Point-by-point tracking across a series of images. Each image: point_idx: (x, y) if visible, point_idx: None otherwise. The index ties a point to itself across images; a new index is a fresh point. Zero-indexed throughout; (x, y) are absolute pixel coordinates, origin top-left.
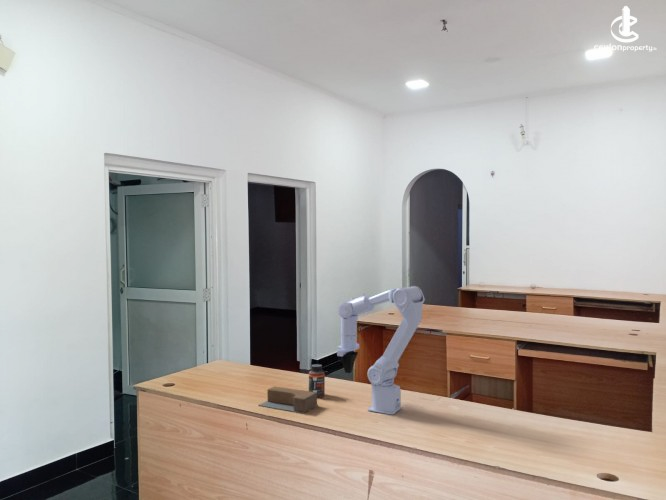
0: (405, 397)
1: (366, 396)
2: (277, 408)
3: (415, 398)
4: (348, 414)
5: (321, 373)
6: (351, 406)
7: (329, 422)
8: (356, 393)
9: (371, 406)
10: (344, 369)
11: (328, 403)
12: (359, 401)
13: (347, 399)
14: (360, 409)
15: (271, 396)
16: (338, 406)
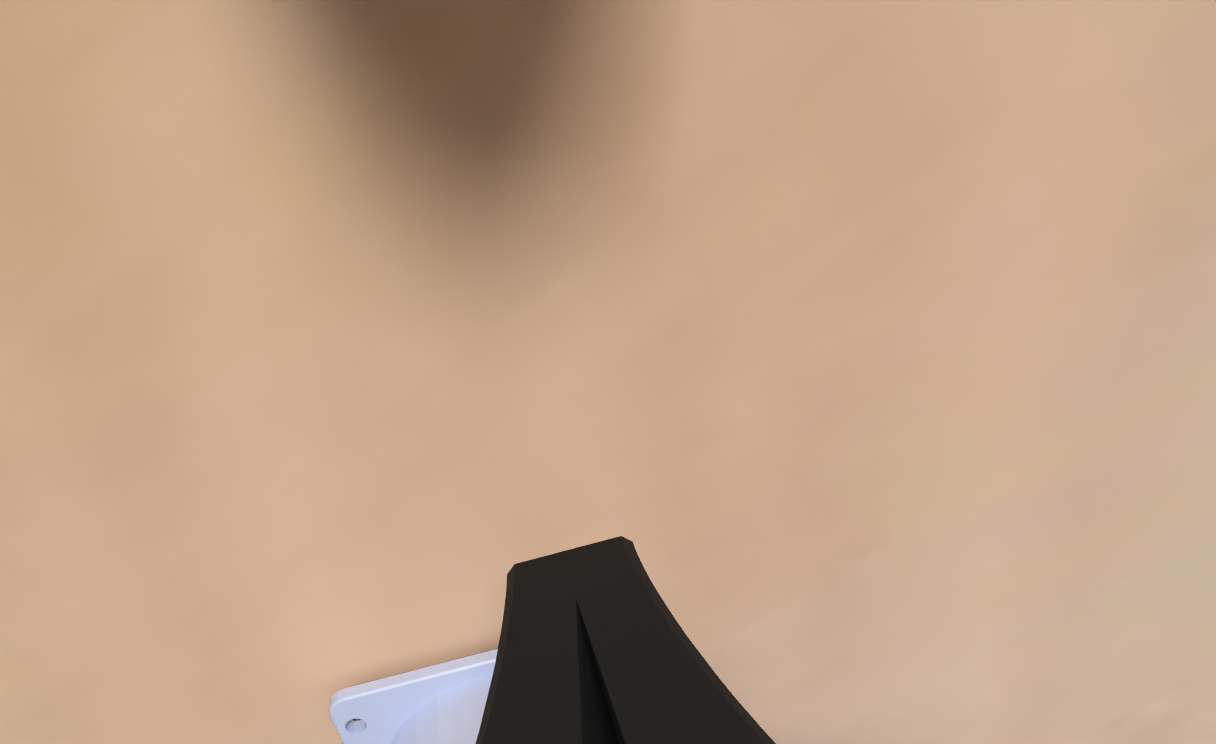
0: (1095, 646)
1: (911, 292)
2: None
3: (1101, 724)
4: (12, 627)
5: None
6: (326, 442)
7: None
8: (994, 51)
9: (466, 671)
10: (502, 630)
11: (123, 42)
12: (618, 374)
13: (585, 162)
14: (317, 598)
15: None
16: (154, 302)
